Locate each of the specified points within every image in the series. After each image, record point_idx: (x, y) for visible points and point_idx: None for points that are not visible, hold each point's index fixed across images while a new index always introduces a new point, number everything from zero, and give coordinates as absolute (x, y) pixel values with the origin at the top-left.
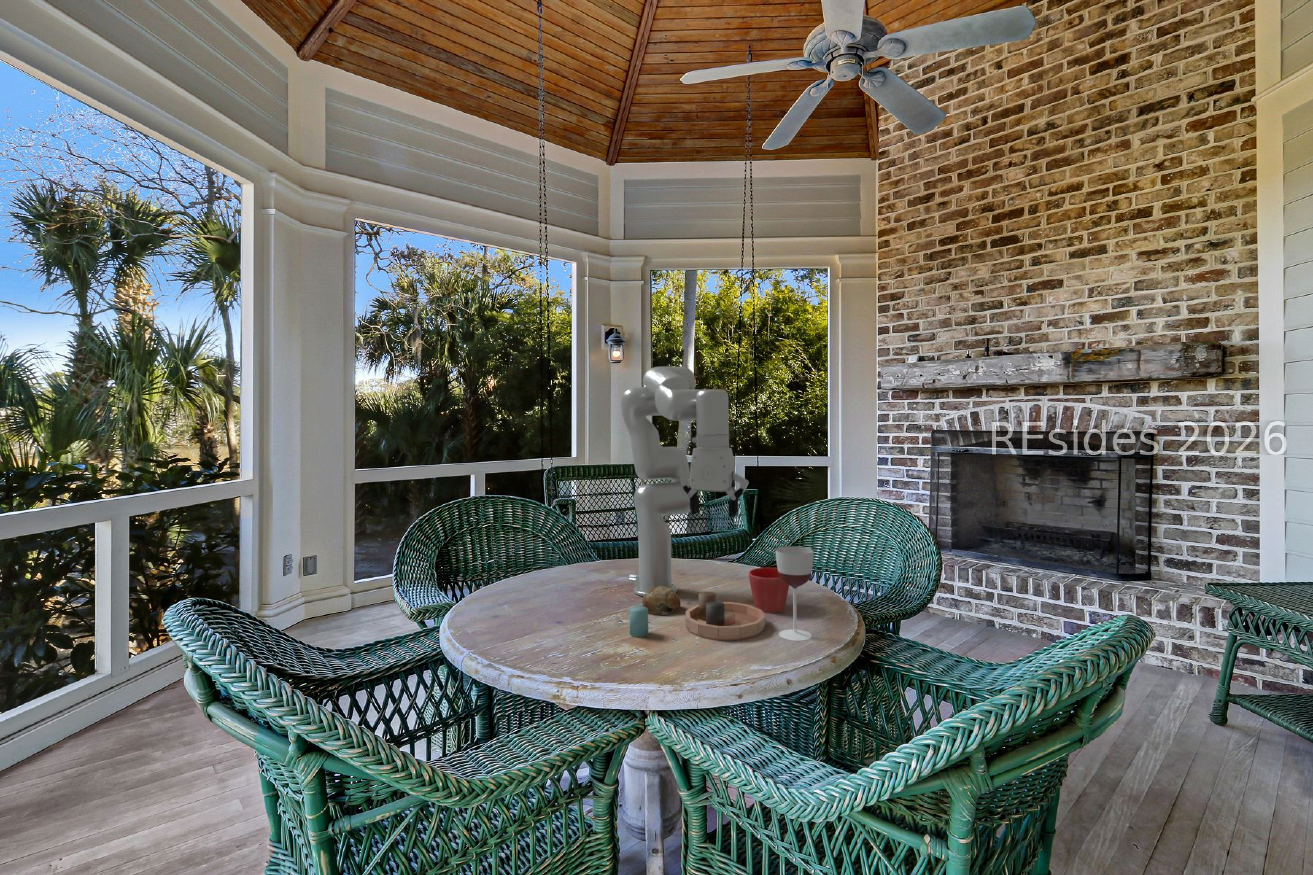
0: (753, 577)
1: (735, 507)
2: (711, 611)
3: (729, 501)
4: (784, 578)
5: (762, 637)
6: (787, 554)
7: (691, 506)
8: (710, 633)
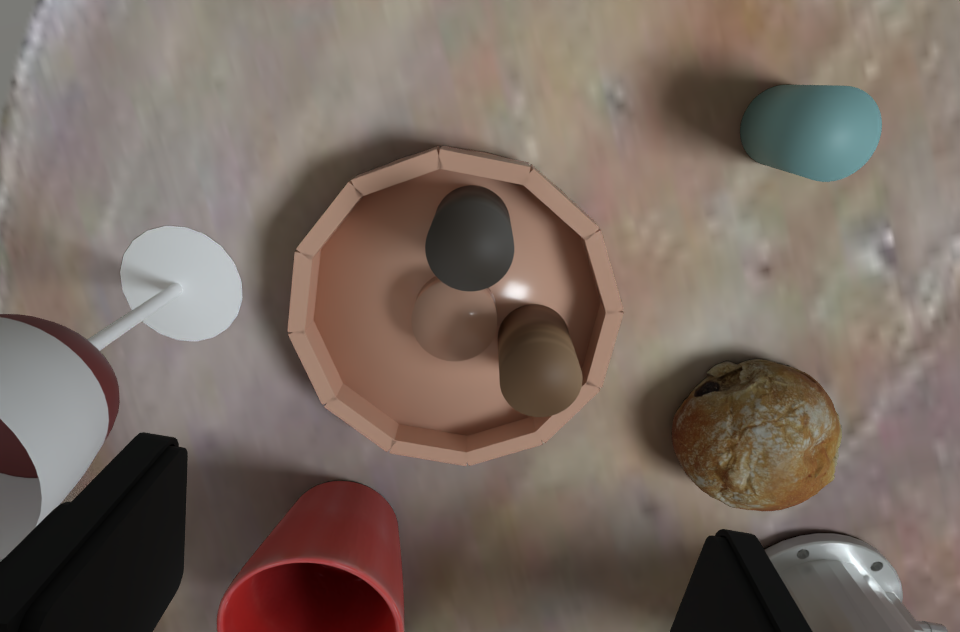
0: (366, 570)
1: (11, 551)
2: (477, 201)
3: (19, 601)
4: (64, 328)
5: (287, 225)
6: None
7: (793, 607)
8: (475, 152)
